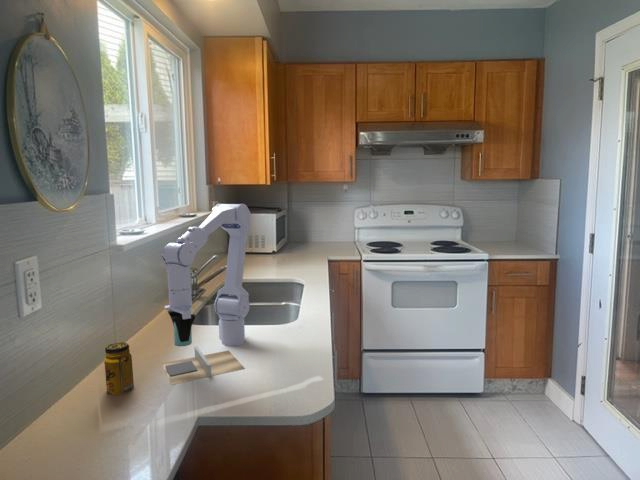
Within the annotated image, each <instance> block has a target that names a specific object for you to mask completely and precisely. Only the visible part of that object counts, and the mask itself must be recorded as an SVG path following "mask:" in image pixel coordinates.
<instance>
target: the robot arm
mask: <svg viewBox="0 0 640 480" xmlns="http://www.w3.org/2000/svg"><path fill="white" fill-rule="evenodd" d="M251 214H252V213H251V211H250V209H249V207H248V206H247V205H246V204H245V203H217V204H215V206H214V207H212V208H211V213H210V214H209V215H208V216H207V217H206V218H205V220H203V222H201V224H200V225H199V226H189V227H188V228H187V231H186V232H185V233H184V234H182V235H181V236H180V237H178V238H177V239H176V241H174V242H169V243H168V244H166V245H165V246H164V248H163V250H162V252H161V253H162V254H160V257H161V260H162V262H163V264H164V267H165V268H164V269H165V270H166V272H167V287H168V305H164V310H166V311H167V313H168V315H169V316H170V319H171V321H172V324H173V326H174V322H175V324H176V327H177V330H178V335H179V339H180V342H185V341H189V337H190V331H191V332H192V327H193V323H194V321H195V319H196V315H195V313H193V314H192V313H191V312H192V309H193V306H194V303H193V299H192V297H193V296H192V275H191V264H192V263H194V260H195V256H196V255H197V253H198V251H199V250H200V249H201V248H203V246H204V245H206V244H207V242H208V236H209V235H211V233H213V232H215V231H216V230H217V229H218V228H220V227H221V229H223V230H224V231H226V232H227V233H228V235H229V241H228V250H227V251H228V252H227V260H226V271H225V278H224V279H225V280H224V285H223V286H222V287H221V288H219V289H218V290H217V294H216V298H215V300H214V303H213V309H214V312H215V314H217V315H218V318H219V320H218V333H219V334H218V338H219V340H220V341H221V345H223V346H226V347H227V346H229V347H234V346H235V347H236V346H240V345H242V344H244V343H245V342H246V336H245V335H246V334H245V333H246V331H245V330H246V329H245V317H247V315H248V314H249V311H250V304H251V303H250V300H249V299H250V298H249V296H250V294H249V292H248V291H247V290H246V289H245V288H244V287H243V281H244V280H243V279H244V271H245V258H246V250H247V240H248V232H249V231H250V223H251Z"/></svg>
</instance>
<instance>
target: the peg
mask: <svg viewBox="0 0 640 480" xmlns="http://www.w3.org/2000/svg"><path fill="white" fill-rule="evenodd" d="M173 333H174V335H173V338H174V342H173V343H174V346H175V347H187V346H190V345H192V344H193V342H192V341H193V340H192V339H193V338H192V335H193V334H192V330H191V331H190V337H189V341H185V342H180V339H179V335H178V330H177V327H176V324H175V322H174V325H173Z"/></svg>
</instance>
